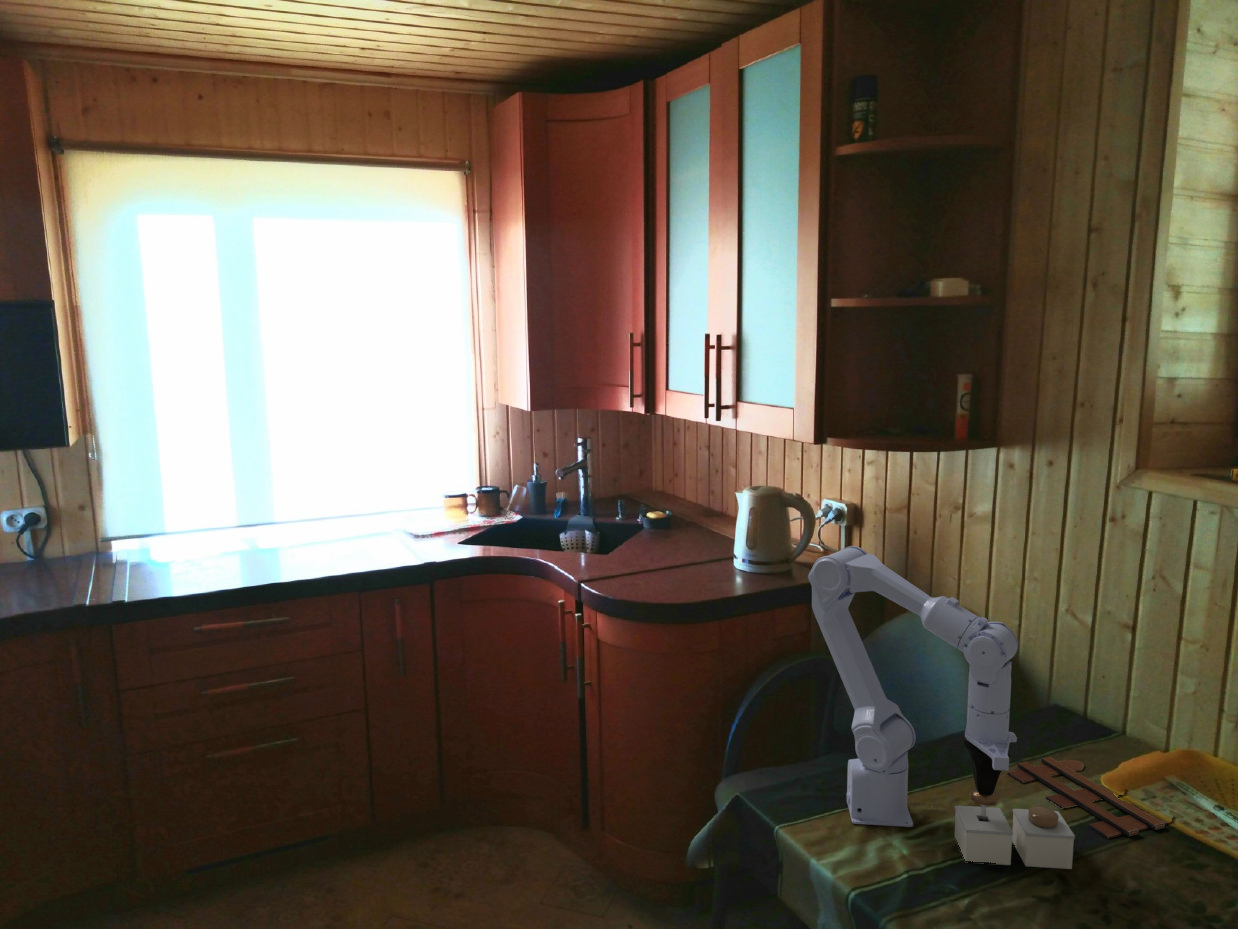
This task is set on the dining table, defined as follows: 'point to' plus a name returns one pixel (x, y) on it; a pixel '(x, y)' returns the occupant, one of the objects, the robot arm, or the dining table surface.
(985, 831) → the left press
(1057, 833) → the block
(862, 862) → the dining table surface
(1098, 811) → the decorative fence
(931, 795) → the dining table surface
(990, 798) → the left press plunger
